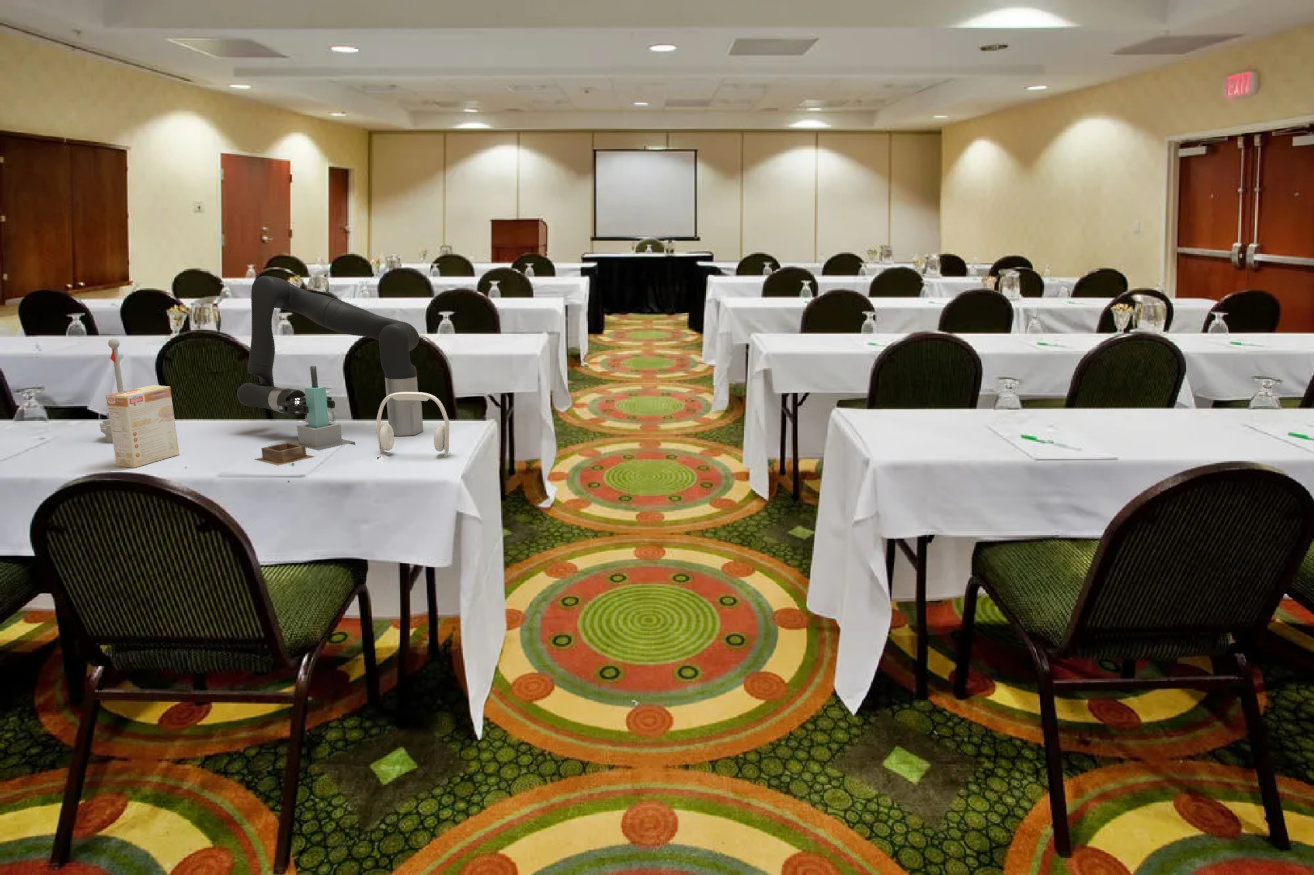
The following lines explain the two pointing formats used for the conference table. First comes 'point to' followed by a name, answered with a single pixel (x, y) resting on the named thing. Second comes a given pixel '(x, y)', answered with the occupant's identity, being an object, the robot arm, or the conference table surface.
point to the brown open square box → (283, 453)
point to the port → (320, 437)
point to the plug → (316, 402)
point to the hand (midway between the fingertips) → (320, 407)
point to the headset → (386, 430)
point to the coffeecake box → (142, 425)
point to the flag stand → (115, 358)
